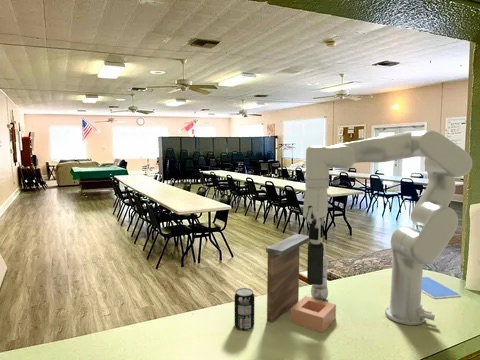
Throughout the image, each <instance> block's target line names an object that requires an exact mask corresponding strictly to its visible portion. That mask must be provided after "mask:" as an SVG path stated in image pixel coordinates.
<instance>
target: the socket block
mask: <svg viewBox="0 0 480 360" xmlns="http://www.w3.org/2000/svg"><path fill="white" fill-rule="evenodd" d="M336 311H337V304H335V303H332V302H329V301H325V300H318V299H314V298H313V297H312V296H307V295H305V296H303V297H302V298H301V299H300V300H298V302H297V303H296V304H295V305H294V306H292V307H291V308H290V323H292V324H295V325H298V326H301V327H305V328H307V329H309V330H313V331H316V332H319V333H321V334H323V333H324V332H325V331H326V330H327V329H328V328H329V326H330V325H331V324H332V323H333V322H334V321H335V319H336V314H337V312H336Z"/></svg>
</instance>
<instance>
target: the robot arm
mask: <svg viewBox="0 0 480 360" xmlns="http://www.w3.org/2000/svg"><path fill="white" fill-rule="evenodd" d="M415 157H417V158H418V157H421V158H424V167H425V170H426V173H427V176H428V177H427V178H428V182H427V186H426V188H425V190H424V191H423V193H422V194H421V196H420V198H419V199H418V201H417V202H416V204H415V205H414V207H413V209H412V210H411V212H410V220H411V222H412V223H413V224H414V225H415V226H417V227H419V228H421V230H418V229H415V228H413V227H408V226H402V227H399V228H397V229H395V230H394V231H393V233H392V234H391V237H390V238H391V239H390V249H391V255H392V257H391V259H392V264H391V265H392V266H391V283H390V284H391V285H390V301H389V302H390V303H389V306H386V308H385V310H384V315H385V316H386V317H387V318H388V319H390V320H391V321H393V322H396V323H398V324H402V325H407V326H418V325H419V326H420V325H422V324H424V322H425V319H427V320H429V321H435V316H436V315H435V314H432V313H433V312H432V311H430V310H425V308H423V304H421V300H422V291H421V288H422V277H423V265H425V266H427V265H430V264H432V263H434V262H436V260H437V259H438V258H439V257H440V256H441V254H442V253H443V252H444V250H445V248H446V247H447V246H448V244H449V242H450V241H451V240H452V237H453V236H454V235H455V233H456V230H457V228H458V225H459V217H458V214H457V212H456V211H455V210H454V209H453V208H451V207H450V206H449V205H450V203H451V201H452V200H453V198H454V196H455V193H456V181H455V178H461V177H464V176H466V175H467V174H469V173H470V171H471V170H472V168H473V159H472V157H471V155H470V154H469V153H468V151H466V150H465V149H464V148H462V147H460V146H459V145H457V143H455V142H453V141H452V140H450V139H449V138H448V137H446V136H444V135H443V134H441V133H440V132H438V131H436V130H431V129H428V130H426V129H425V130H413V131H407V132H400V133H395V134H389V135H382V136H377V137H371V138H367V139H361V140H355V141H350V142H343V143H337V144H333V145H329V146H325V145H310V146H308V147H307V148H306V150H305V182H304V183H305V190H304V197H303V207H302V208H303V210H302V217H303V218H304V219H306V223H307V224H308V236H309V239H312V240H318V239H319V228H318V219H319V218H320V219H321V229H320V239H322V238H323V236H324V223H325V222H324V220H325V217H326V216H327V214H328V207H329V206H328V205H329V203H328V201H329V198H328V189H329V187H330V186H329V185H330V168H334V169H341V170H345V169H349V168H351V167H352V166H354V164H358V163H378V164H379V163H386V162H393V161H397V160H398V161H399V160H404V159H410V158H415ZM313 217H314V218H313ZM313 220H314V221H315V222H314V221H313Z"/></svg>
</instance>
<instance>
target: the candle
mask: <svg viewBox="0 0 480 360" xmlns="http://www.w3.org/2000/svg"><path fill="white" fill-rule="evenodd" d="M312 218H314V217H312ZM313 221H314V220H313ZM314 222H315V221H314ZM318 228H319V239H318V240H312V239H311V240H310V241H308V242H307V271H306V272H307V274H306V275H307V277H306V283H307V284H308V285H312V284H314V285H322V284H323V251H324V248H325V247H324V243H323V242H321V238H320V229H321V219H320V218H319V219H318Z"/></svg>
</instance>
